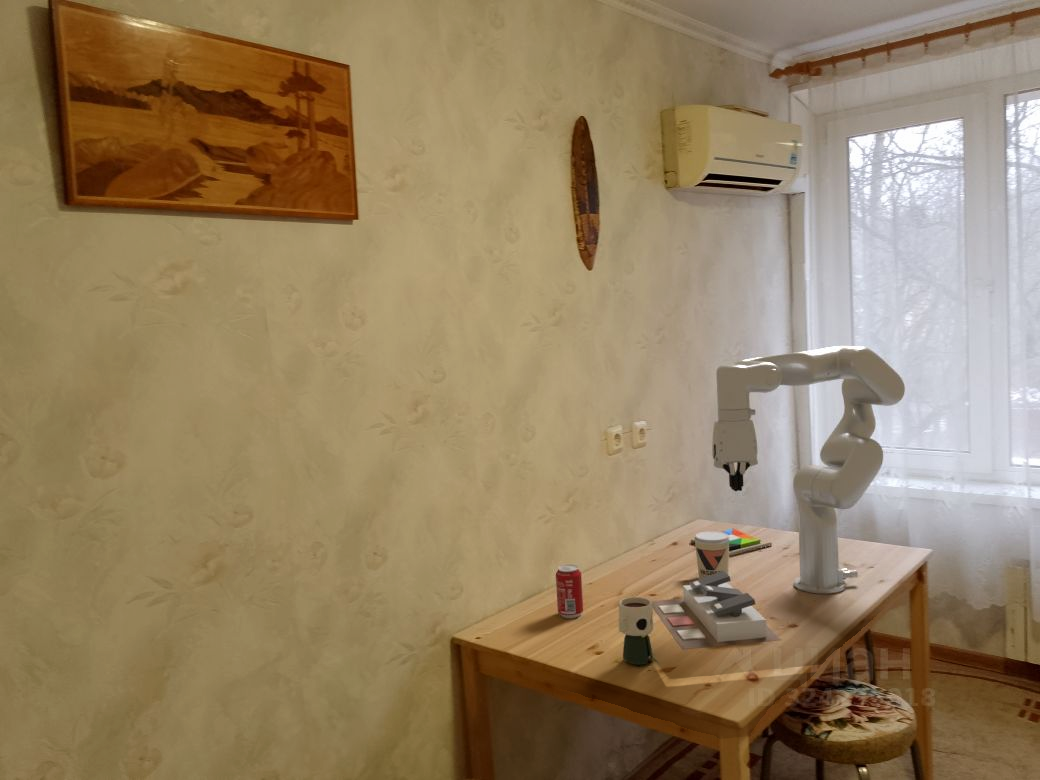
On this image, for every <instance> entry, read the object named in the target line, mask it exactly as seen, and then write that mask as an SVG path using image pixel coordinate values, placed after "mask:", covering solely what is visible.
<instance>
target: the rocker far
mask: <svg viewBox="0 0 1040 780" xmlns="http://www.w3.org/2000/svg"><path fill="white" fill-rule="evenodd" d="M726 582H727V583H728V582H731V577H730V575H729V573H728V574H726V573H725V572H724V571H721V572H718V573H715V574H712V575H710V576H707V577H704V578H701V579H699V578H698V579H695V580H692V581H689V582H688V583H689V585H690V587H691V588H692V589H693V590H694V591H695V592H696V593H697V592H700V591H701V585H708V586H716V587H718V585H720V584H723V583H726Z"/></svg>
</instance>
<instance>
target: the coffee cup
mask: <svg viewBox="0 0 1040 780" xmlns="http://www.w3.org/2000/svg"><path fill="white" fill-rule="evenodd" d="M693 539H694V540H695V543H694V544H695V554H696V564H697V571H698V572H697V573H698V579H701V578H704V577H707V576H710V575H712V574H715V573H718V572H721V571H724V572H725V573H726V574H728V575H729V562H730V561H729V558H730V556H729V541H730V538H729V536H728V535H727V534H726V533H723V532H719V531H717V530H714V531H712V530H708V531H707V530H706V531H701V532H698V533H696V534H695V536H694V538H693Z"/></svg>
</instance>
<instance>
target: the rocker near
mask: <svg viewBox="0 0 1040 780" xmlns="http://www.w3.org/2000/svg"><path fill="white" fill-rule="evenodd" d="M755 605H756V599H755V598H753V596H751V594H749V593H748V592H745V593H743V594H742V595H738V596H735V597H732V598H729V599H726V600H723V601H720V602H716V603H713V604H710V607H711V610H712V611H713V612H714V613H715V614H716V615H717V616H721V615H724V614H727V613H731V614H732V615H733V616H735V617H737V616H740V615H741V613H742V609H743V608H746V607H749V606H752V607H753V606H755Z"/></svg>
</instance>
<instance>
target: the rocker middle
mask: <svg viewBox="0 0 1040 780" xmlns="http://www.w3.org/2000/svg"><path fill="white" fill-rule="evenodd" d="M701 591H702V592H703V593H704V594H705V595H706V596H712V597H716V598H717V599H718V600H719V601H723V600H726V599H729V598H732V597H735V596H738V595H742V594H744V593H743V592H742V591H740V589H739V588H734V587H732V588H725V587H716V586H708V585H701Z"/></svg>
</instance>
